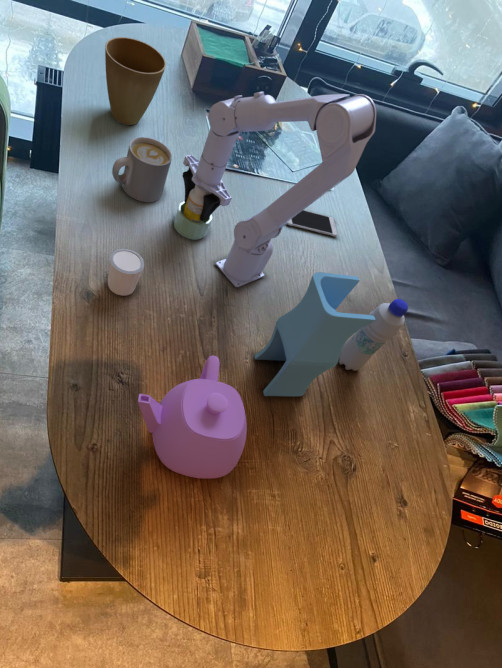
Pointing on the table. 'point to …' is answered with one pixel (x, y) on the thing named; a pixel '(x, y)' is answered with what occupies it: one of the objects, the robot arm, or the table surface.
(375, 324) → the bottle
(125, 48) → the plant pot
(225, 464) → the teapot
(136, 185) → the coffee mug
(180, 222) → the cup
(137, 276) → the white round canister
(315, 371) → the blue tall flared piece
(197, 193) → the supplement bottle
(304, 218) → the smartphone
